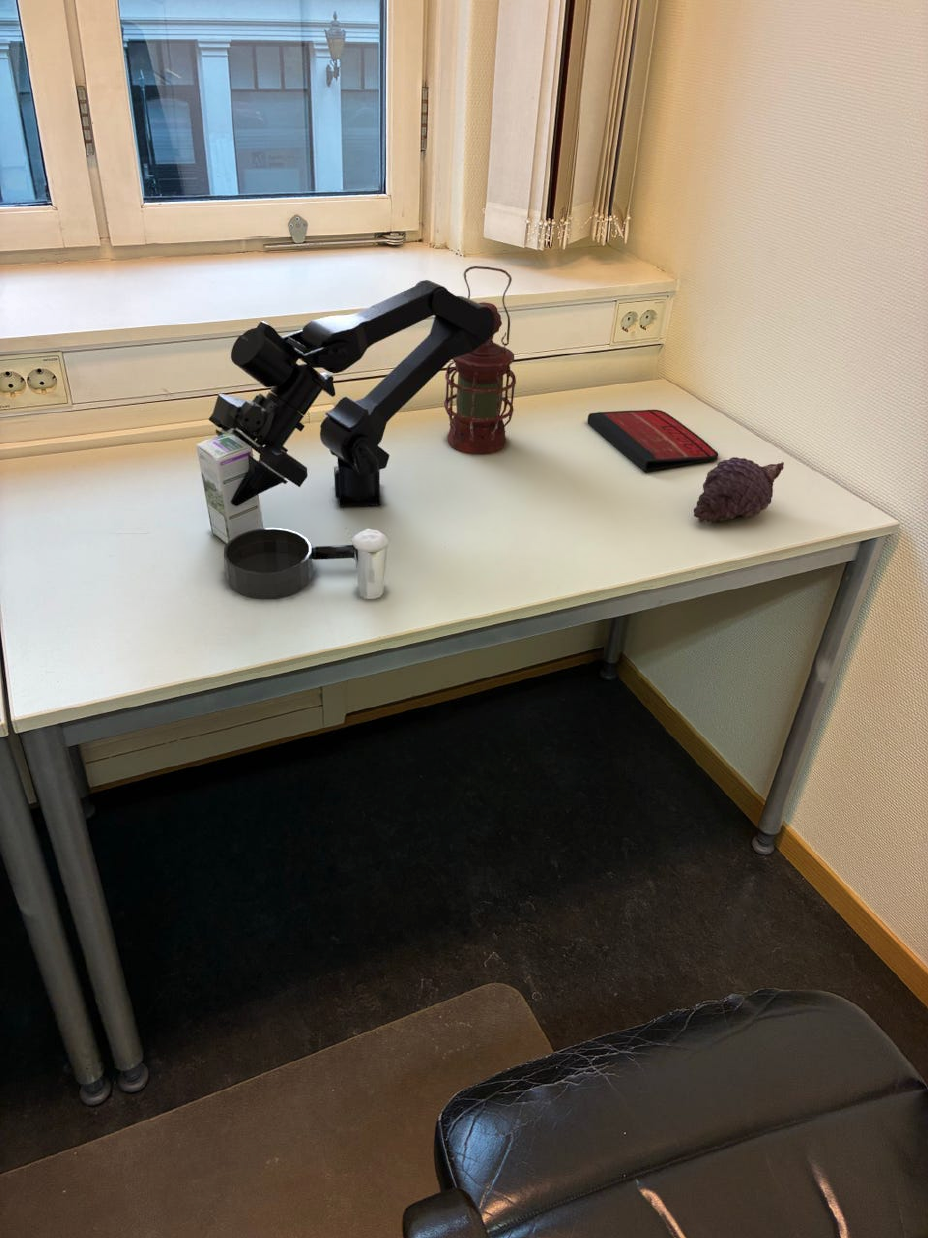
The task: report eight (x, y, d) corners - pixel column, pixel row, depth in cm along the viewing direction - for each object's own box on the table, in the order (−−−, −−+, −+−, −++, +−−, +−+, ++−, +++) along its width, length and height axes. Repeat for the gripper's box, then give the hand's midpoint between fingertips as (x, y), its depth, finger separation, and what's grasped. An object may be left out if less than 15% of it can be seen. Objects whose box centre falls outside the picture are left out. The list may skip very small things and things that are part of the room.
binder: (646, 460, 155) (587, 411, 170) (643, 473, 156) (585, 423, 172) (725, 452, 160) (661, 406, 176) (721, 464, 162) (658, 417, 177)
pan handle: (382, 552, 127) (382, 541, 126) (383, 559, 126) (383, 548, 125) (309, 555, 126) (308, 544, 125) (309, 562, 124) (308, 551, 123)
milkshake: (348, 583, 125) (346, 519, 119) (387, 583, 125) (387, 519, 120) (347, 602, 121) (345, 537, 115) (388, 602, 122) (388, 537, 116)
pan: (312, 550, 131) (310, 526, 129) (314, 596, 122) (312, 571, 120) (228, 553, 129) (225, 529, 127) (224, 601, 120) (221, 575, 118)
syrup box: (265, 535, 134) (254, 444, 125) (230, 550, 130) (216, 458, 121) (244, 519, 137) (232, 430, 128) (209, 533, 134) (194, 442, 125)
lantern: (434, 450, 159) (441, 272, 141) (451, 422, 169) (459, 252, 151) (503, 460, 157) (519, 281, 140) (516, 432, 167) (532, 260, 149)
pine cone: (725, 545, 138) (701, 485, 135) (685, 544, 147) (662, 487, 145) (809, 492, 143) (788, 433, 140) (766, 494, 152) (745, 438, 150)
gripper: (213, 351, 127) (149, 443, 128) (281, 396, 116) (210, 497, 117) (269, 392, 136) (209, 479, 137) (336, 438, 125) (271, 532, 125)
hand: (223, 495), depth 129 cm, fingers closed on syrup box, 6 cm apart
